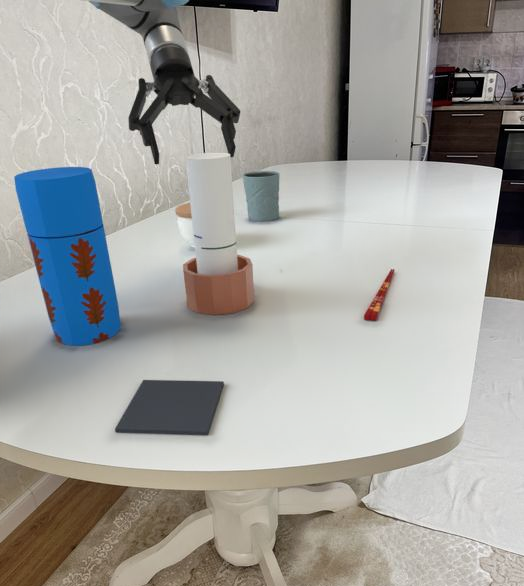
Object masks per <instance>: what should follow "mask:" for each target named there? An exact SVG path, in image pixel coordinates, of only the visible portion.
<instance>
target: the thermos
mask: <svg viewBox="0 0 524 586" xmlns="http://www.w3.org/2000/svg"><path fill="white" fill-rule="evenodd" d="M13 178H14V186H15V192H16V196H17V200H18V204H19V208H20V211H21V215H22V219H23V223H24V227H25V231H26V233H27V234H26V236H27V239H28V243H29V247H30V250H31V254H32V258H33V263H34V266H35V270H36V274H37V278H38V281H39V285H40V288H41V289H40V291H41V294H42V296H43V301H44V305H45V309H46V312H47V316H48V321H49V322H50V326H51V329H52V332H53V334H54V337H55V339H56V342H58V343H60V344H62V345H66V346H73V347H75V346H88V345H93V344H98V343H101V342H104V341H107V340H109V339H111V338H113V337H114V336H116V335H117V334H118V333H119V332H120V331H121V325H122V323H121V316H120V309H119V301H118V297H117V296H118V295H117V291H116V286H115V280H114V279H115V278H114V274H113V268H112V263H111V258H110V252H109V247H108V241H107V237H106V232H105V226H104V220H103V215H102V210H101V205H100V199H99V193H98V188H97V184H96V183H97V182H96V179H95V176H94V173H93V170H92V168H90V167H85V166H61V167H60V166H59V167H51V168H50V167H47V168H40V169H33V170H29V171H24V172H21V173H18V174H16V175H14V177H13Z"/></svg>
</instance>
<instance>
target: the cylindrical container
mask: <svg viewBox="0 0 524 586" xmlns="http://www.w3.org/2000/svg"><path fill="white" fill-rule="evenodd" d="M231 158H232V157H230V154H228V152H201V153H200V152H199V153H193V154H189V155H185V165H186V166H185V167H186V176H187V185H188V186H187V187H188V194H189V203H190V205H191V215H192V224H193V233H194V243H195V248H194V253H195V258H196V262H197V271H198V274H206V275H217V274H228V273H231V272H235V271H238V261H237V255H238V248H237V247H238V246H237V234H236V233H237V232H236V220H235V219H236V218H235V204H234V190H233V189H234V187H233V177H232V176H233V175H232V174H233V173H232V159H231Z"/></svg>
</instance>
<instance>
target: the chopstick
mask: <svg viewBox="0 0 524 586" xmlns="http://www.w3.org/2000/svg"><path fill="white" fill-rule="evenodd" d="M394 273H395V268H390V270H389V272H388V274H387V275H386V277H385V278H384V281H383V282H382V284H381V286H380V287H379V289H378V291H377V293H376V294H375V295H374V298H373V299H372V301H371V303H370V304H369V306H368V308H367V310H366V311H365V313H364V314H363V320H366V321H373V322H374V321H377V318H378V315H380V311H381V307H382V305H383V302H384V300H385V297H386V294H387V293H388V289H389V286H390V284H391V281H392V278H393V276H394Z"/></svg>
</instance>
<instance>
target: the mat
mask: <svg viewBox="0 0 524 586" xmlns="http://www.w3.org/2000/svg"><path fill="white" fill-rule="evenodd" d="M224 386H225V382H224V381H223V380H222V381H221V380H174V379H173V380H170V379H169V380H168V379H143V380H142V381H141V383H140V385H139V387H138V388H137V390H136V392H135V393H134V395H133V397H132V398H131V400H130V402H129V404H128V406H127V407H126V409H125V410H124V412H123V414H122V415H121V418H120V419H119V421H118V422H117V424H116V426H115V428H114V432H115V433H130V434H131V433H133V434H134V433H135V434H165V435H199V436H208V435H209V432H210V430H211V426H212V422H213V421H214V417H215V413H216V410H217V407H218V404H219V401H220V398H221V396H222V395H221V394H222V392H223V388H224Z"/></svg>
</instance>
